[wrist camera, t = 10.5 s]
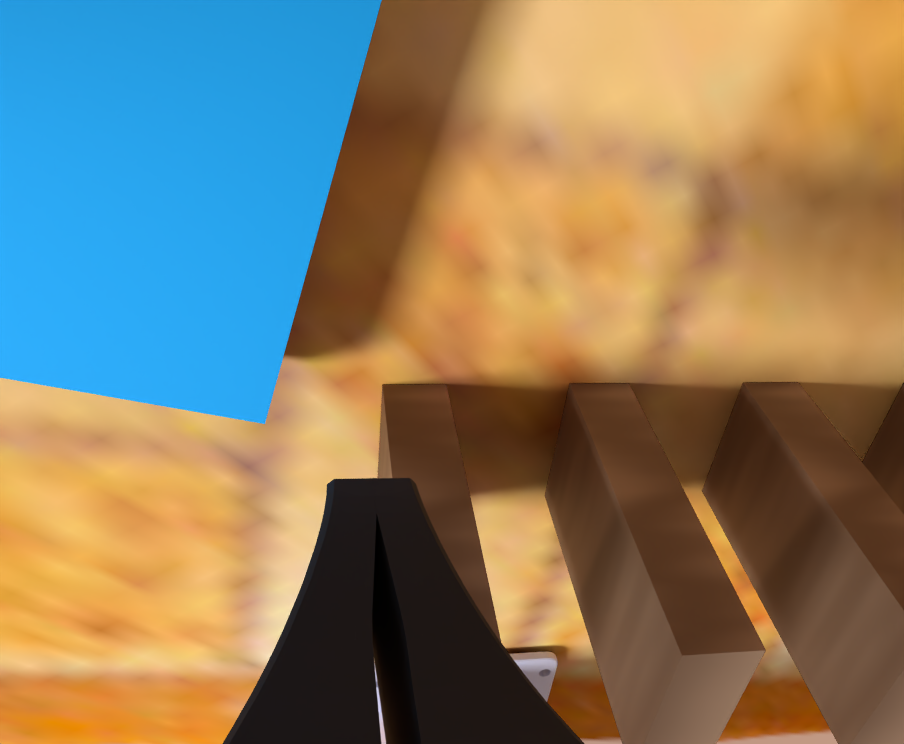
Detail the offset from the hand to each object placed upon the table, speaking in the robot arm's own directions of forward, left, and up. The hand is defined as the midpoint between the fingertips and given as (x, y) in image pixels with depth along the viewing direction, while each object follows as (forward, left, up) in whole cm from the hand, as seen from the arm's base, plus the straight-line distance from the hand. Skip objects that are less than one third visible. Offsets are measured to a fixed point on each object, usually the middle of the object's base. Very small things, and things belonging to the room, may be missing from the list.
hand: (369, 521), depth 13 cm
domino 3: (-8, -14, -10) cm, 19 cm away
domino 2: (-8, -8, -10) cm, 15 cm away
